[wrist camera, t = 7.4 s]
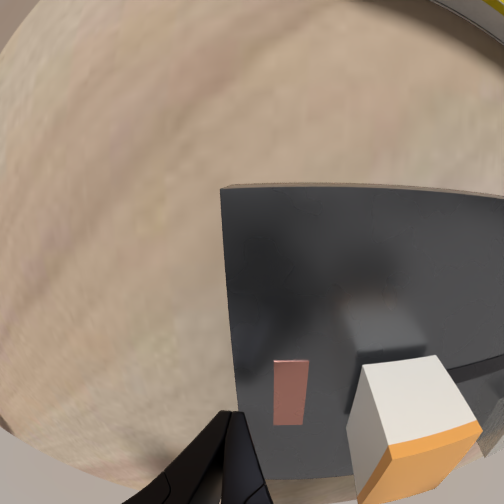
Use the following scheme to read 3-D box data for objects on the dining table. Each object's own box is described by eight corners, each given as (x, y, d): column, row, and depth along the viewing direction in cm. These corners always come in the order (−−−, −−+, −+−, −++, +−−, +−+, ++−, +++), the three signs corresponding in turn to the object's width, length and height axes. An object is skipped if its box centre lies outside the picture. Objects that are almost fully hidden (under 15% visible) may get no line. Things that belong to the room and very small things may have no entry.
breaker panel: (572, 209, 8) (614, 224, 4) (508, 404, 12) (528, 436, 8) (231, 184, 10) (200, 196, 6) (250, 452, 14) (243, 506, 10)
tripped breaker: (436, 354, 8) (483, 431, 4) (409, 418, 9) (435, 488, 5) (362, 364, 8) (392, 459, 5) (345, 428, 10) (358, 508, 6)
